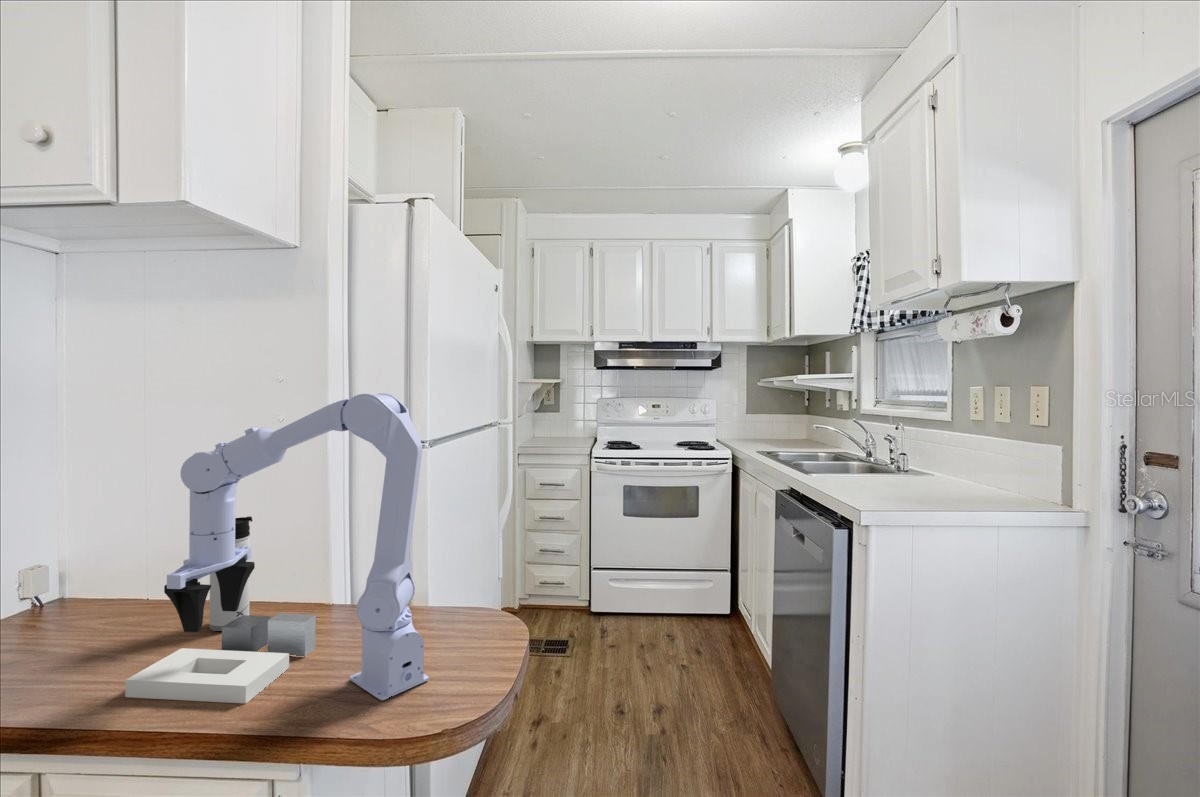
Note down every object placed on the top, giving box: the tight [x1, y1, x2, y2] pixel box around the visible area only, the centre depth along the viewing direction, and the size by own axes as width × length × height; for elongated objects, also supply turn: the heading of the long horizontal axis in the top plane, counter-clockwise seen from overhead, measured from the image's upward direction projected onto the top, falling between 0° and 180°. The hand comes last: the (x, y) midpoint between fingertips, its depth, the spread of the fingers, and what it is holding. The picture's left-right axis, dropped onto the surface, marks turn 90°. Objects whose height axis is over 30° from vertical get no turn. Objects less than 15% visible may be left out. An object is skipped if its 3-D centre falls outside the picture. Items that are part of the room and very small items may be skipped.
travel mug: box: [208, 515, 253, 632], centre depth 106 cm, size 6×7×20 cm
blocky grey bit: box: [267, 612, 317, 658], centre depth 96 cm, size 6×3×6 cm, turn 86°
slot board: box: [124, 647, 290, 704], centre depth 85 cm, size 18×10×2 cm, turn 86°
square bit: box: [221, 614, 271, 652], centre depth 96 cm, size 5×5×5 cm
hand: (212, 620), depth 85 cm, fingers open, 7 cm apart
